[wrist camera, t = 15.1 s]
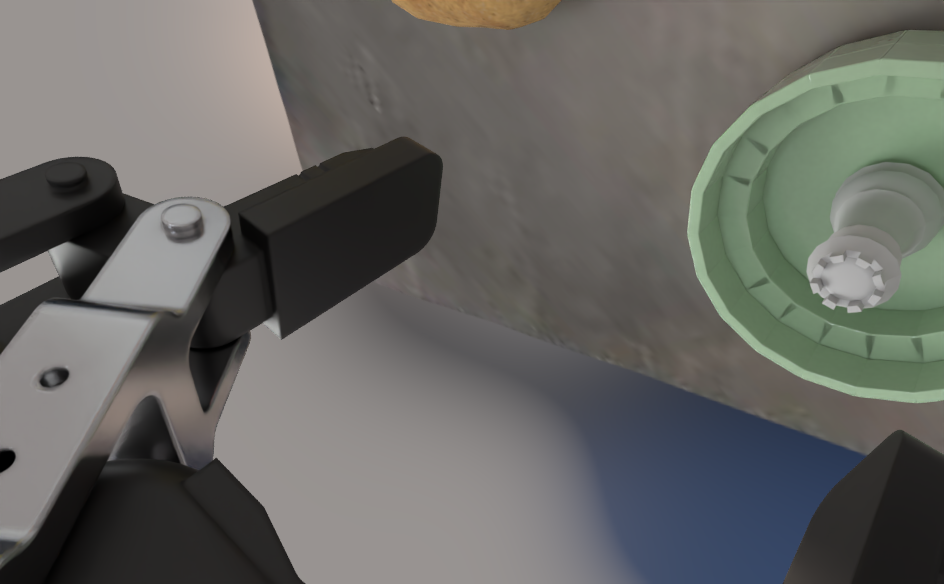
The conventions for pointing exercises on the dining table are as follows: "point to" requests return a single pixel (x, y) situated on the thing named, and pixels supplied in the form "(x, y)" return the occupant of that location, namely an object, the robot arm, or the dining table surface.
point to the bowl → (827, 217)
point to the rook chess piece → (875, 234)
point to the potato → (480, 12)
